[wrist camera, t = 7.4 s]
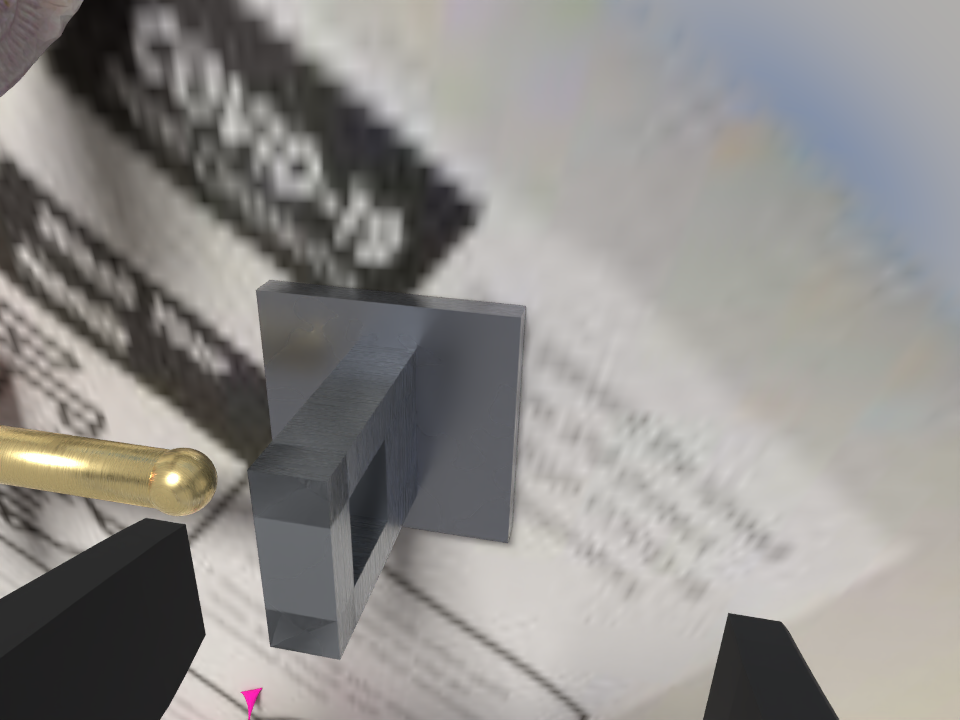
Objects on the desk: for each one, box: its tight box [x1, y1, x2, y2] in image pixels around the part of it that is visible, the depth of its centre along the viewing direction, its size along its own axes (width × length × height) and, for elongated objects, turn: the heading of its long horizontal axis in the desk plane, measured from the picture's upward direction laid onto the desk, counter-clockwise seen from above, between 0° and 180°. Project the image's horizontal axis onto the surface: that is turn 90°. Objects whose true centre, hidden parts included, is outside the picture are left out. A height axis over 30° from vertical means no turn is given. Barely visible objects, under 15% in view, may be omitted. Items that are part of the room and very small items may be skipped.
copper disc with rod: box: [0, 425, 217, 516], centre depth 18 cm, size 11×7×7 cm, turn 88°
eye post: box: [247, 280, 526, 660], centre depth 18 cm, size 7×7×7 cm
